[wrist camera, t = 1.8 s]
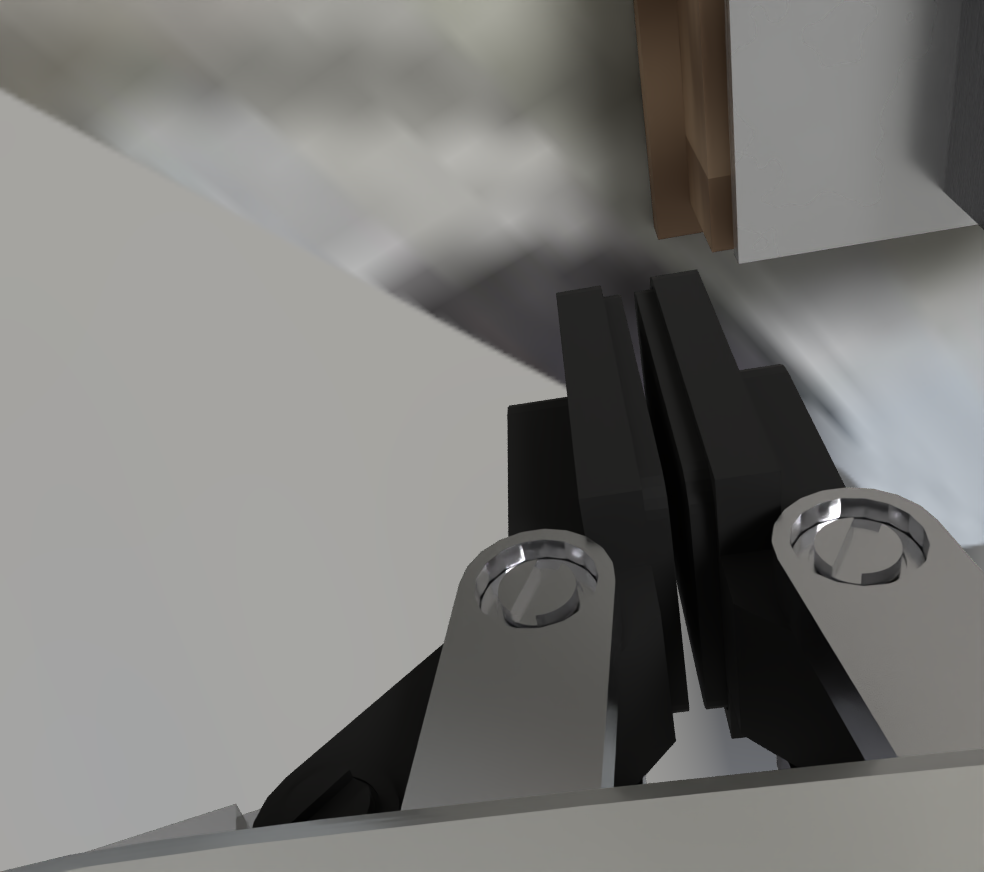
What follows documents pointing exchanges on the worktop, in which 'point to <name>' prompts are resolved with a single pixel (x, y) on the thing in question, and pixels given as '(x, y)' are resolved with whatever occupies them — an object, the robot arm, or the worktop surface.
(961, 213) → the lid
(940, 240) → the worktop surface
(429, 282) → the worktop surface
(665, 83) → the holder
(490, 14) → the worktop surface
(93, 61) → the worktop surface
